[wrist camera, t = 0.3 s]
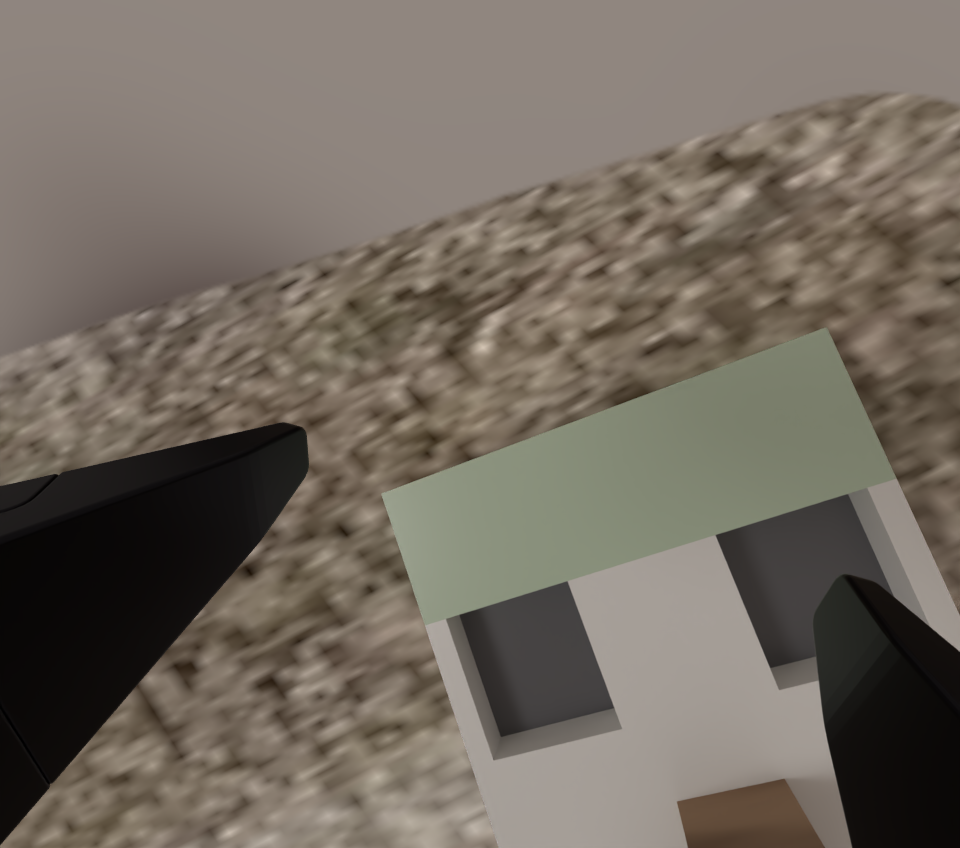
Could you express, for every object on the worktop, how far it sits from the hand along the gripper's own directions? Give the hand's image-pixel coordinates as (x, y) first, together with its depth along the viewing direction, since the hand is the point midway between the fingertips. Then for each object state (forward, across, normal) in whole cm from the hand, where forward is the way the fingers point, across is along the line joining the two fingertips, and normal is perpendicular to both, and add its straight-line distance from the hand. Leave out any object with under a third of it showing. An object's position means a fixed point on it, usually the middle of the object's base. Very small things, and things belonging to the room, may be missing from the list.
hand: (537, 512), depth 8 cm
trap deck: (+10, -6, +12) cm, 16 cm away
